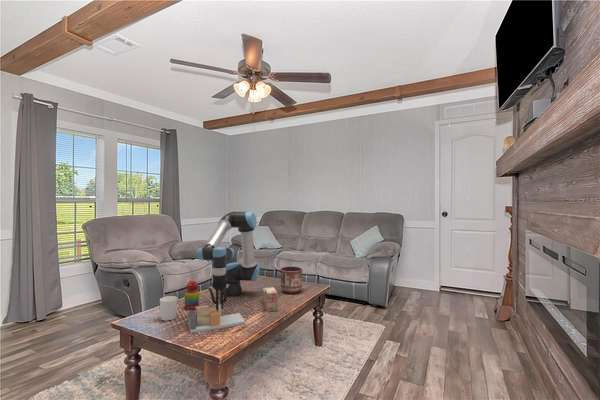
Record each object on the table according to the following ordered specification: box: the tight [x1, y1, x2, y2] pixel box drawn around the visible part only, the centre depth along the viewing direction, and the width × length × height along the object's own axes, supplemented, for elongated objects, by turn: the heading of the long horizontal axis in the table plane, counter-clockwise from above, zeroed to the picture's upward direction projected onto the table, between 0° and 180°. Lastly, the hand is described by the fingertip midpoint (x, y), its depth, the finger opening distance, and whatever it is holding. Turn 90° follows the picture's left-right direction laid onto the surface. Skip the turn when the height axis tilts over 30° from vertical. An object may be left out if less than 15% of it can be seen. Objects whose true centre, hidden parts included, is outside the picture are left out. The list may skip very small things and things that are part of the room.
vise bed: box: [187, 310, 246, 334], centre depth 175 cm, size 14×30×8 cm, turn 115°
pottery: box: [279, 266, 303, 295], centre depth 237 cm, size 18×18×18 cm
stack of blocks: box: [262, 286, 278, 313], centre depth 205 cm, size 21×6×12 cm, turn 15°
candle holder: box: [159, 295, 178, 322], centre depth 182 cm, size 10×10×12 cm
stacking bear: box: [183, 279, 202, 311], centre depth 201 cm, size 11×10×18 cm
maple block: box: [195, 304, 211, 326], centre depth 171 cm, size 5×7×9 cm
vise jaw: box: [210, 306, 220, 326], centre depth 174 cm, size 12×5×6 cm, turn 25°
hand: (219, 314), depth 175 cm, fingers closed
